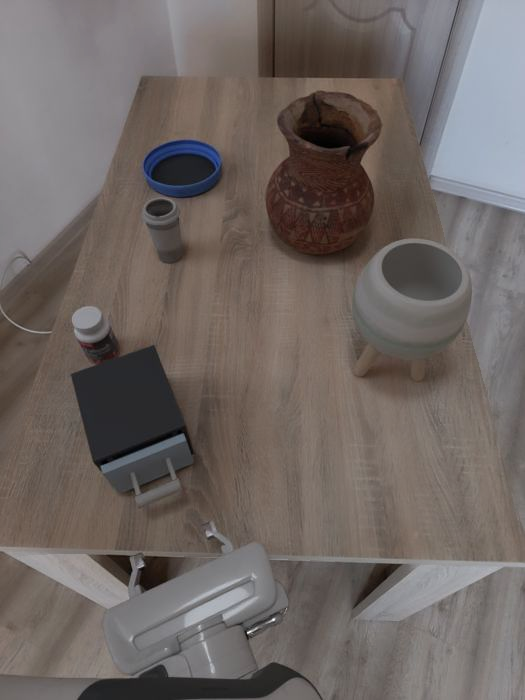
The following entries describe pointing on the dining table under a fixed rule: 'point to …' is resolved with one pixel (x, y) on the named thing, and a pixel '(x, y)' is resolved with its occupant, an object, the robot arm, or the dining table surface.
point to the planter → (410, 303)
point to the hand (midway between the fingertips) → (172, 539)
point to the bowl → (182, 167)
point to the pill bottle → (95, 335)
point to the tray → (149, 467)
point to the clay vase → (323, 172)
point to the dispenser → (126, 404)
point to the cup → (164, 227)
